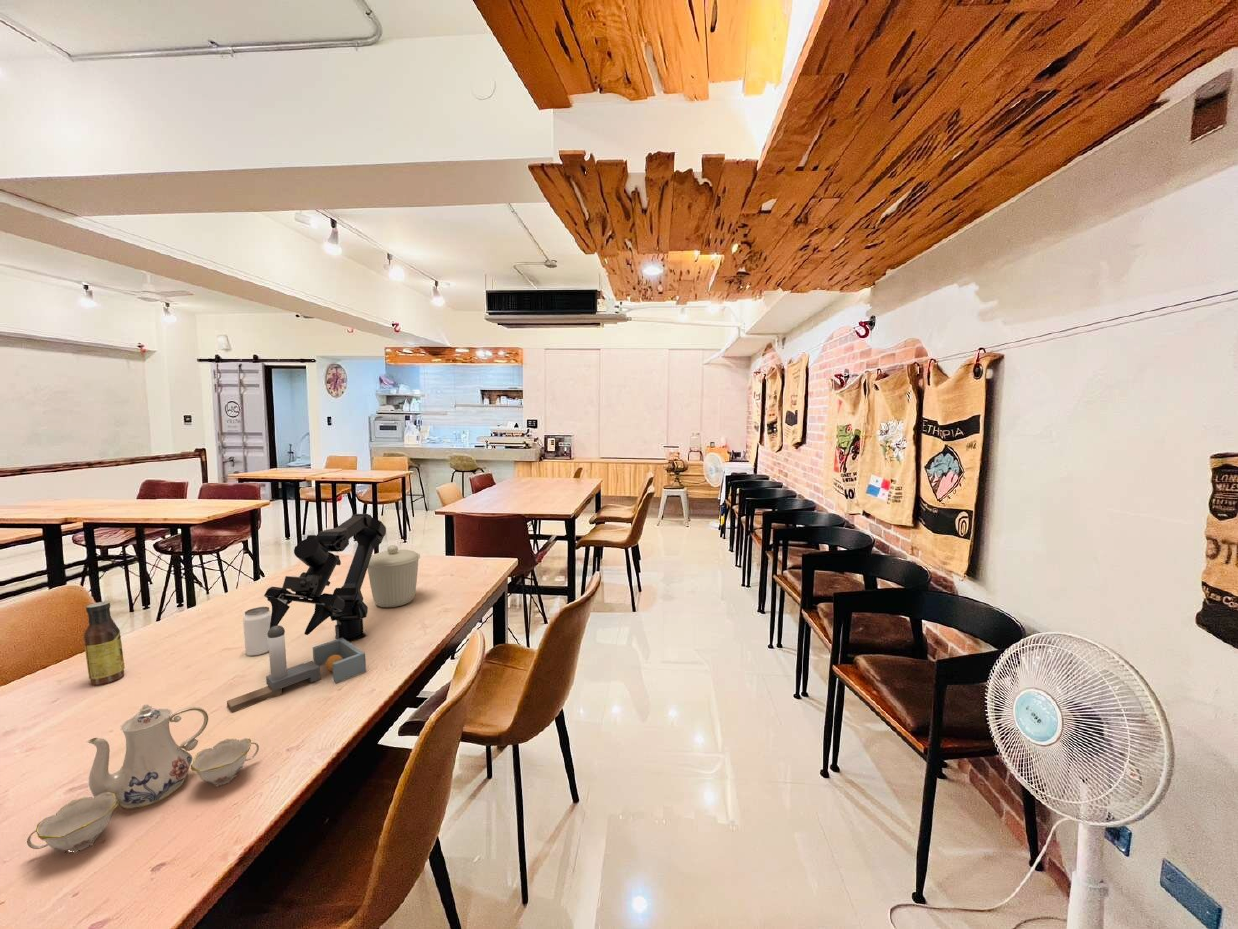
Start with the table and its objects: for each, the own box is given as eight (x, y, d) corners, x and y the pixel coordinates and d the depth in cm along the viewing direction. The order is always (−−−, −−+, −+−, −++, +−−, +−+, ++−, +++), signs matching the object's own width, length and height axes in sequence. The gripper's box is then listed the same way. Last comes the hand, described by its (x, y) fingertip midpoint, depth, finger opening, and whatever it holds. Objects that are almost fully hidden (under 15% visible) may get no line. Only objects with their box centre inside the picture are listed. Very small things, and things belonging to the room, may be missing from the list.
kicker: (312, 672, 124) (309, 613, 122) (320, 679, 121) (316, 618, 119) (266, 689, 116) (262, 626, 115) (273, 696, 113) (269, 631, 112)
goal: (343, 654, 134) (342, 637, 134) (366, 671, 125) (365, 653, 125) (313, 665, 128) (312, 647, 128) (335, 683, 119) (334, 664, 119)
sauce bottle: (131, 675, 123) (123, 601, 121) (98, 688, 117) (90, 610, 115) (115, 671, 125) (108, 598, 123) (82, 683, 119) (74, 607, 117)
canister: (432, 599, 175) (430, 543, 173) (385, 616, 160) (383, 555, 158) (402, 590, 185) (400, 537, 183) (356, 605, 170) (353, 547, 168)
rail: (276, 688, 117) (276, 682, 117) (281, 693, 115) (281, 688, 115) (227, 706, 110) (226, 700, 109) (231, 712, 107) (231, 706, 107)
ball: (319, 663, 125) (331, 670, 127) (325, 668, 122) (337, 675, 124) (331, 650, 127) (342, 657, 129) (338, 654, 124) (349, 661, 127)
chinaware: (37, 898, 67) (25, 796, 65) (21, 830, 76) (10, 738, 74) (268, 776, 90) (266, 697, 88) (235, 735, 100) (232, 662, 97)
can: (258, 657, 132) (255, 616, 131) (239, 655, 133) (236, 614, 132) (279, 646, 138) (276, 607, 137) (261, 644, 140) (258, 605, 139)
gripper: (268, 557, 122) (232, 617, 113) (337, 565, 121) (306, 627, 112) (292, 574, 131) (260, 631, 122) (356, 582, 130) (329, 640, 121)
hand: (288, 632), depth 119 cm, fingers open, 9 cm apart
